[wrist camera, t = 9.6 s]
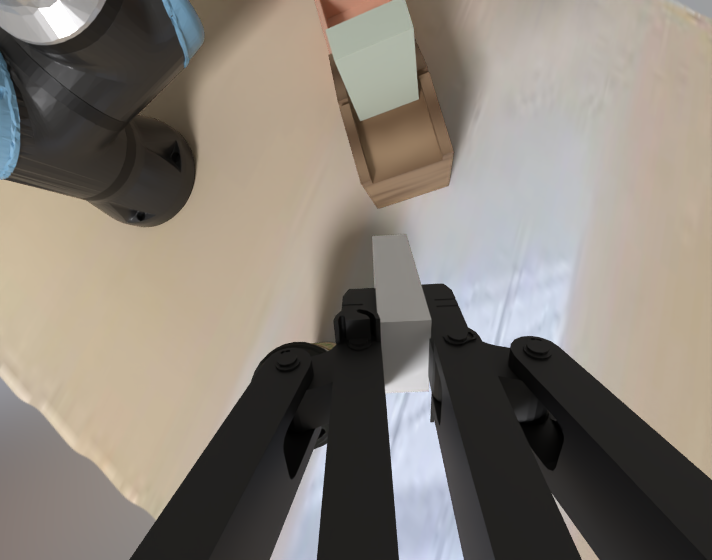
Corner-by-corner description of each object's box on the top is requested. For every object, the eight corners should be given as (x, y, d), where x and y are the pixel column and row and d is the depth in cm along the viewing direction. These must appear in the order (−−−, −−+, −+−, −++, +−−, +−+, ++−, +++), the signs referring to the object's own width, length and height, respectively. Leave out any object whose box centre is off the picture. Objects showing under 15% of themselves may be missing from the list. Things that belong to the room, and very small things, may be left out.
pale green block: (418, 99, 36) (413, 27, 26) (360, 121, 37) (334, 60, 27) (411, 75, 36) (403, -5, 26) (353, 98, 37) (325, 29, 27)
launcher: (448, 185, 45) (453, 151, 34) (377, 208, 47) (360, 183, 36) (411, 62, 46) (404, -9, 35) (343, 89, 48) (317, 29, 37)
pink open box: (412, 63, 46) (410, 36, 41) (343, 90, 48) (333, 68, 43) (390, -10, 47) (385, -45, 42) (323, 19, 49) (311, -11, 44)
